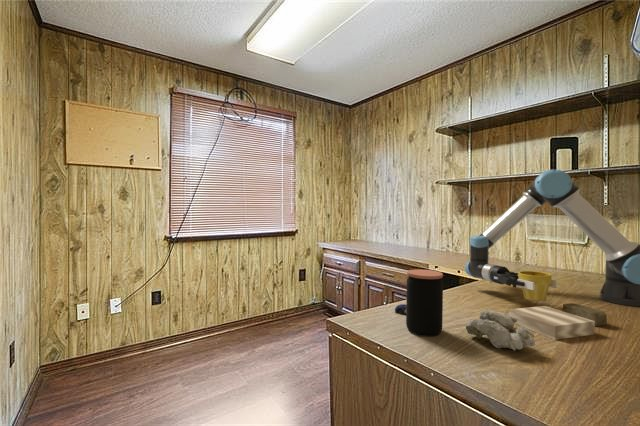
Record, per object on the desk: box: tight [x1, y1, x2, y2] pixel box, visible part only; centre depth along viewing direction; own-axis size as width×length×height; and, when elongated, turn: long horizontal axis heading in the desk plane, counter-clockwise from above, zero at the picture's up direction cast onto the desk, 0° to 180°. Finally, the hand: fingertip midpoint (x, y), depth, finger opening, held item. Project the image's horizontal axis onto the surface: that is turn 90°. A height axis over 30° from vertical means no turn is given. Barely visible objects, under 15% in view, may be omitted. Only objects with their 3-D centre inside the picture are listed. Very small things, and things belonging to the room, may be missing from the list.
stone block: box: [561, 302, 608, 327], centre depth 110 cm, size 6×12×5 cm, turn 20°
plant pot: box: [517, 270, 552, 302], centre depth 121 cm, size 10×10×10 cm
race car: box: [394, 303, 406, 316], centre depth 115 cm, size 15×7×4 cm, turn 61°
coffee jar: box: [405, 268, 444, 337], centre depth 99 cm, size 11×11×18 cm
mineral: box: [465, 309, 536, 352], centre depth 89 cm, size 12×17×10 cm
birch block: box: [508, 305, 596, 341], centre depth 103 cm, size 16×16×4 cm
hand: (545, 285), depth 117 cm, fingers closed on plant pot, 10 cm apart
